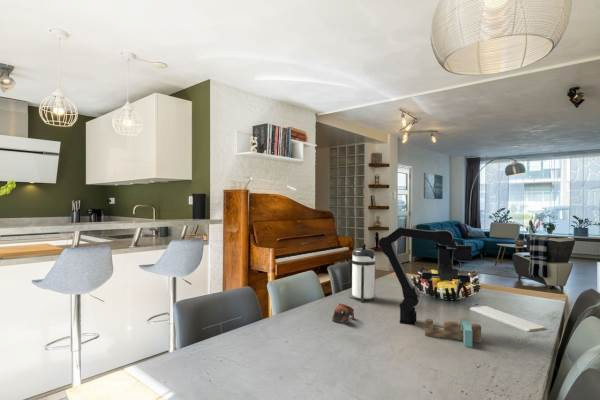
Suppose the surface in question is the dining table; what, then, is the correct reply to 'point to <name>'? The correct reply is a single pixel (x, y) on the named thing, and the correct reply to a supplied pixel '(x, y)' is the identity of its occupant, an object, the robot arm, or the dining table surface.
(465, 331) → the teal notched plate
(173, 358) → the dining table surface
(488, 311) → the baseboard molding
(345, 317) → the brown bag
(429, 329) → the walnut slotted board
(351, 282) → the coffee press
